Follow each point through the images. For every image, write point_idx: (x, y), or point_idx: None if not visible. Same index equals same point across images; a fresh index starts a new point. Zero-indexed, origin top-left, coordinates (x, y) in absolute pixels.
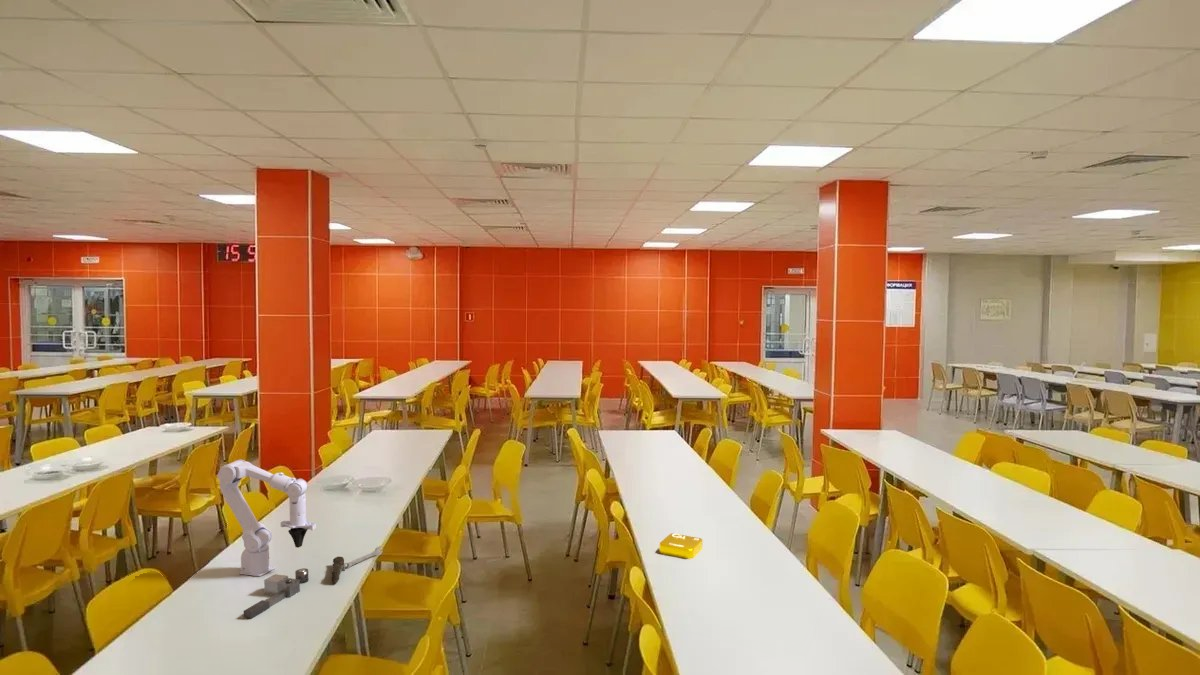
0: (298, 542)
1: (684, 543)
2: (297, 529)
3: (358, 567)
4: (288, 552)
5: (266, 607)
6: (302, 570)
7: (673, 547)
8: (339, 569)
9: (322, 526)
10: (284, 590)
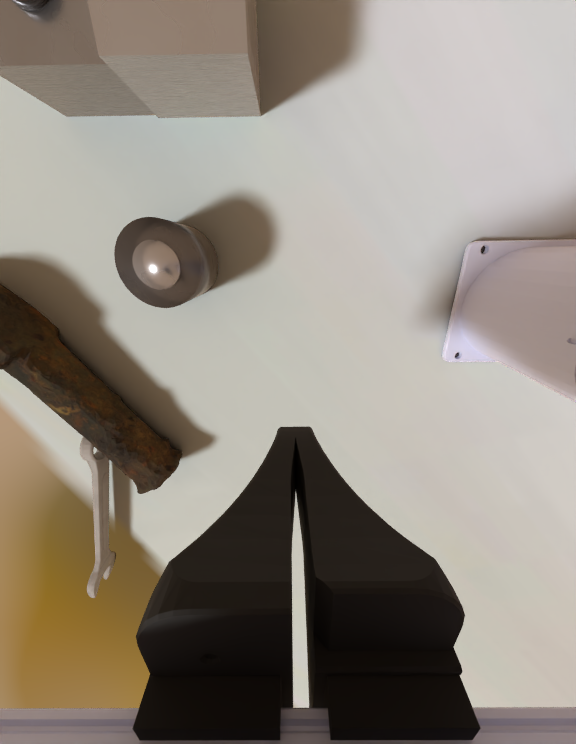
0: (267, 458)
1: None
2: (267, 670)
3: (75, 461)
4: (478, 506)
5: None
6: (148, 263)
7: None
8: (14, 376)
9: (473, 661)
10: None
